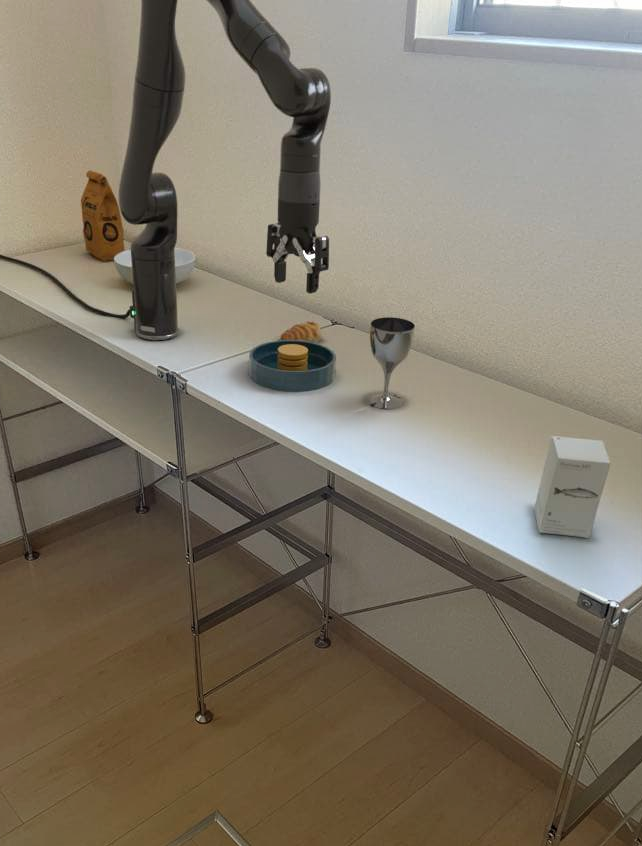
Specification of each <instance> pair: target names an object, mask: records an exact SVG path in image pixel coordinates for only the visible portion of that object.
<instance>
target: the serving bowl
mask: <svg viewBox="0 0 642 846" xmlns="http://www.w3.org/2000/svg"><path fill="white" fill-rule="evenodd" d="M113 262H114V266H115V270H116V271H117V273H118V274H119V276H120V277H121V278H122V279H123V280H124V281H126V282H128V283H130V284H132V285H133V274H132V261H131V248H130V249H127V250H124V251H123V252H121V253H119V254H117V255H116V256H115V257H114V260H113ZM195 265H196V255H195V253H193V252H192V251H191V250H189V249H184V248H180V247H175V272H176V285H177V284H180V283H182V282H184V281H185V280H187V279H188V278H189V277H190V276H191V275H192V273H193V271H194V269H195Z"/></svg>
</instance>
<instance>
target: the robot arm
mask: <svg viewBox="0 0 642 846" xmlns="http://www.w3.org/2000/svg"><path fill="white" fill-rule="evenodd" d="M178 2H179V0H141V2H140V3H141V8H140V23H139V36H138V47H137V48H138V49H137V58H136V59H137V60H136V65H135V66H136V67H135V73H134V81H133V90H132V91H133V92H132V108H131V115H130V121H129V123H130V124H129V131H128V139H127V145H126V150H125V156H124V160H123V165H122V169H121V174H120V179H119V185H118V196H117V197H118V199H117V201H118V206H119V211H120V215H121V217H123V219H124V220H125V221H126V223H128V224H130V225H133V226H140V225H145V227H144V228H143V230H142V231H141V232H140V234H138V235H137V236H136V237H134V238H133V239H132V240H131V242H130V249H131V261H132V274H133V284H132V285H133V286H132V287H133V288H132V289H131V300H132V305H129V306H128V307H129V309H128V310H127V311H126V313H125V314H115V313H111V312H108V311H104V310H101V309H99V308H95V307H93V306H91V305H90V304H87V303H86V302H85V301H83V300H82V299H80V298H79V297H77V295H76V294H75V293H73V292H72V291H70V290H69V289H68V288H67V287H66V286H65V285H64V284H63V283H62V282H61V281H59V280H58V278H56V277H55V276H54V275H52V274H51V273H50V272H48V271H47V270H45V269H43V268H41V267H39V266H37V265H34V264H32V263H29V262H27V261H24V260H21V259H17V258H14V257H10V256H7V255H3V254H0V259H2V260H6V261H10V262H13V263H17V264H20V265H22V266H26V267H28V268H31V269H34V270H35V271H38V272H40V273H42V274H43V275H45V276H47V277H48V278H49V279H51V280H52V281H53V282H55V283H56V284H57V285H58V286H59V287H60V288H61V289H62V290H63V291H64V292H65V293H66V294H67V295H68V296H70V298H72V299H73V300H74V301H75V302H77V303H78V304H79V305H81V306H82V307H84V308H86V309H87V310H88V311H91V312H94V313H96V314H99V315H103V316H106V317H110V318H115V319H128V318H129V317H130V318H131V319H133V324H134V331H135V334H136V336H137V337H138V338H141V339H143V340H147V341H166V340H171V339H173V338H175V337H176V336H178V335H179V324H178V322H179V321H178V296H177V284H176V272H175V248H176V245H177V243H178V242H177V241H178V211H179V209H178V196H177V190H176V187H175V184H174V182H173V180H172V179H171V178H170V176H168V174H166V173H164V172H161V171H159V172H158V171H157V172H153V171H154V166H155V163H156V160H157V157H158V155H159V153H160V151H161V149H162V147H163V146H164V144H165V143H166V141H167V139H168V138H169V137H170V135H171V133H172V132H173V130H174V128H175V126H176V125H177V123H178V121H179V118H180V116H181V113H182V109H183V102H184V94H185V89H186V88H185V87H186V69H185V68H186V67H185V63H184V59H183V57H182V56H183V55H182V52H181V49H180V46H179V43H178V38H177V33H176V15H177V7H178ZM206 2H207V3H209V5H211V6H212V8H213V9H214V11H215V12H216V14H217V15H218V17H219V19H220V21H221V24H222V28H223V31H224V33H225V36H226V38H227V40H228V42H229V45H230V46H231V47H232V49H233V50H234V51H235V52H236V54H237V55H238V56H239V57H240V58H241V59H242V61H244V63H245V64H246V65H247V67H249V68H250V70H251V71H253V72H254V74H255V75H256V76H257V77H258V80H259V82H260V84H261V85H262V87H263V89H264V90H265V93H266V94H267V96H268V98H269V99H270V101H271V103H272V104H273V106H274V107H275V108H276V109H277V110H278V111H279V112H281V114H283V115H285V116H287V117H290V118H293V119H292V124H291V127H290V129H289V130H288V131H287V132H285V133H284V134H283V135H282V137H281V140H280V156H279V157H280V160H279V161H280V162H279V163H280V164H279V176H278V182H277V184H278V185H277V222H275V223H270V224H268V225H267V234H266V252H265V254H266V256H267V257H268V258H271V259H272V261H273V263H274V266H273V269H274V271H273V276H274V277H273V278H274V281H275V282H276V283H278V284H280V283H285V282H286V280H287V261H286V260H287V259H288V257H289V255H294V256H296V257H298V258H299V259H300V261H301V262H302V263H303V264H304V265H305V268H306V270H307V273H306V287H305V288H306V290H305V292H306V293H307V294H314V293H317V291H318V290H319V286H320V285H319V283H320V274H321V272H324V271H328V270H329V269H330V268H329V267H330V238H329V236H328V235H324V236H323V235H322V236H319V235H317V233H316V228H317V226H318V224H319V222H320V207H321V205H320V203H321V202H320V201H321V153H322V152H321V151H322V149H321V146H322V141H323V137H324V133H325V131H326V126H327V122H328V118H329V114H330V109H331V102H332V91H331V85H330V81H329V78H328V76H327V75H326V74H325V73H324V72H323V70H321V69H319V68H316V67H307V68H298V67H296V66H295V65H294V64H293V63H292V61H291V48H290V45H289V44H288V42H287V41H286V40H285V38H284V37H283V36H282V34H280V33H279V31H278V30H277V29H276V28H275V27H274V26H273V24H271V23H270V21H268V19H267V18H266V17H265V16H264V15H263V14H262V13H261V12H260V10H259V9H258V8H257V7H256V5H254V3H253V2H252V1H251V0H206ZM309 253H310V254H309Z"/></svg>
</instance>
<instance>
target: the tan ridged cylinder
mask: <svg viewBox="0 0 642 846" xmlns="http://www.w3.org/2000/svg"><path fill="white" fill-rule="evenodd" d="M307 361H308V349H307V348H306V347H304V346H302V345H296V344H287V345H282V346H280V347H279V348H278V362H277V366H278V368H277V369H278V370H285V371H307Z"/></svg>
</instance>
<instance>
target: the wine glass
mask: <svg viewBox="0 0 642 846" xmlns="http://www.w3.org/2000/svg"><path fill="white" fill-rule="evenodd" d="M415 327H416V326H415V324H414V323H413V322H412V321H410V320H408V319H404V318H400V317H389V316H387V317H379V318H375V319H373V320H372V321H370V329H369V346H370V350H371V354H372V357H373V358H374V359H375V360H376V362H377V363H378V364H379V365H380V367H381V369H382V371H383V377H384V378H383V380H384V381H383V382H384V383H383V385H384V386H383V393H381V394H376V395H374V396H373V397H372V399H373V401H375V402H374V403H372V404H370V406H372V407H374V408H376V409H380V410H381V409H382V410H391V409H392V410H394V409H398V408H401V407H403V405H404V399H403V398H401V397H400V396H398V395H395V394H394V395H391V394H389V386H390V381H391V376H392V374H393V372H394V370H395V369H396V368H397V367H399V365H401V363H403V362H404V361H405V360H406V359H407V357H408V355H409V354H410V351H411V348H412V346H413V341H414V336H415V329H416V328H415Z"/></svg>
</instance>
